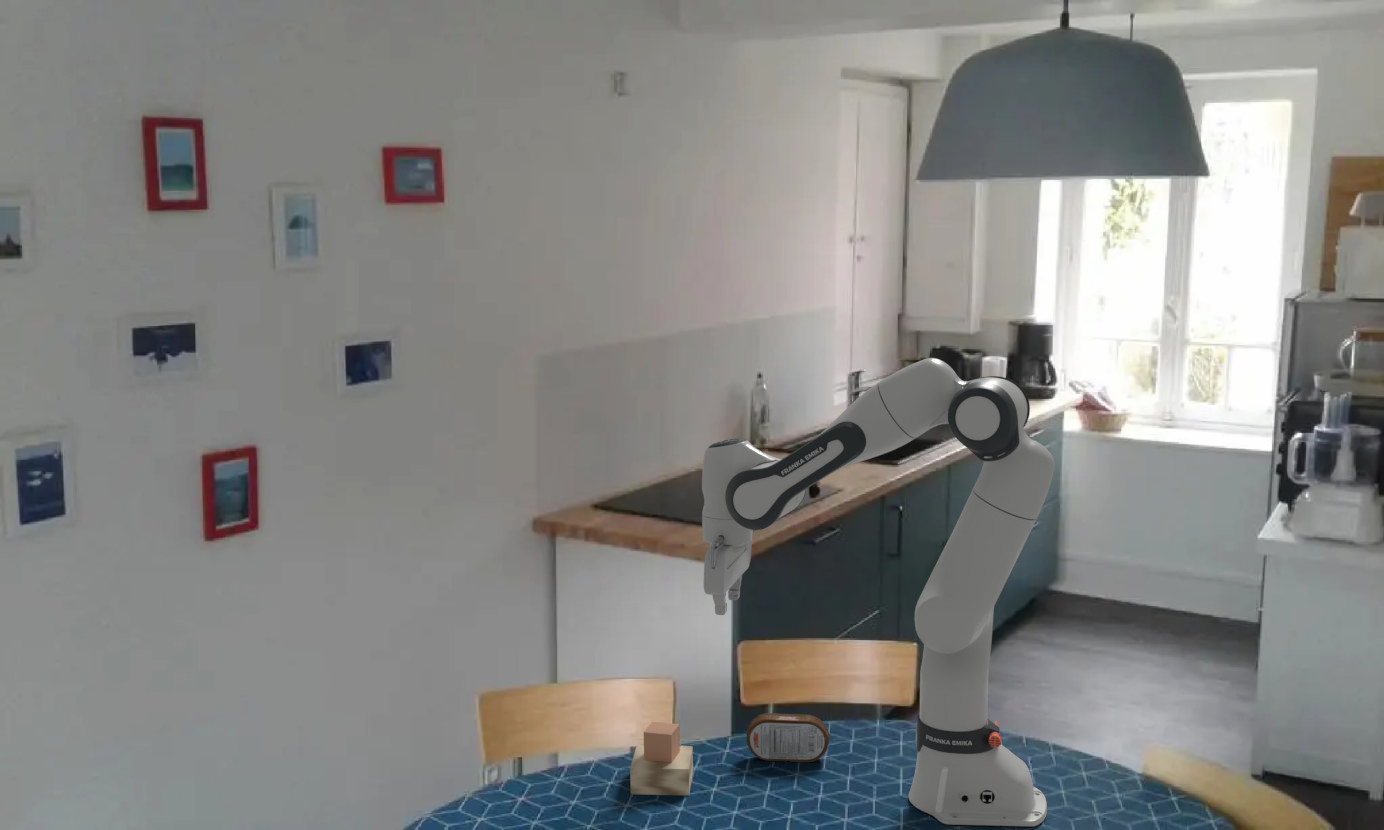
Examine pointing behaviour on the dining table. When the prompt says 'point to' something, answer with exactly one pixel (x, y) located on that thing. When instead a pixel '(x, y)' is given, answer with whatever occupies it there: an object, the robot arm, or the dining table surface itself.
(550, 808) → the dining table surface
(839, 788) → the dining table surface
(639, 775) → the base block
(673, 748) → the cube
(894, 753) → the dining table surface
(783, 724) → the tin
